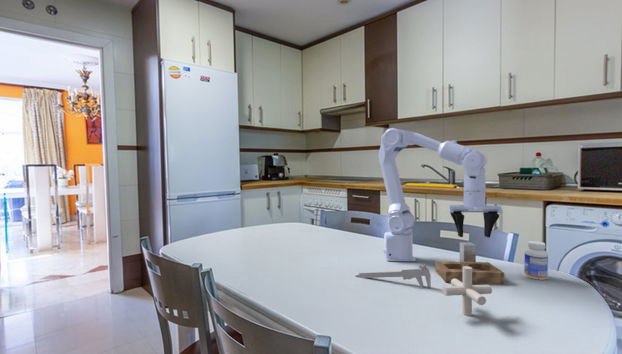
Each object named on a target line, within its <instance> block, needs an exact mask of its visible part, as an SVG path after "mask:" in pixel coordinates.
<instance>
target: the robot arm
mask: <svg viewBox="0 0 622 354" xmlns="http://www.w3.org/2000/svg"><path fill="white" fill-rule="evenodd" d="M380 140H381V141H380V146H379V147H380V148H379V152H378V161H379V165H380V166H379V167H380V170H381V173H382V179H383V183H384V187H385V190H386V191H385V192H386V195H387V199H388V204H389V208H388V211H387V215H388V218H387V226H388V229H389V231H386V232H384V234H383V256H384V258H385V259H386V261H387V262H417V260H416V258H415V257H414V256H413V235H414V234H413V229H412V228H413V227H414V225H415V223H416V220H415V216H414V215H413V214H412V212H411V210H410V207H409V206H408V204H407V203H406V199H405V196H404V192H403V187H402V182H401V179H400V175H399V171H398V167H397V161H396V158H397V156H398V155H399V153H401V151H403V150H404V149H405V148H407V147H408V146H413V145H417V146H419V147H423V148H425V149H428V150H431V151H433V152H437V153H438V155H439V157H440V158H441V159H444V160H445V161H447V162H448V161H449V162H451V163H453V164H456V165H459V166H463V168H464V172H463V173H464V175H463V204H455V205H454V204H453V205H452V204H451V205H450V204H448V205H447V212H448V213H450V216H451V218H452V220H453V222H454V225H455V228H456V232H457V236H458V237H459V238H463V237H464V222H465V221H464V220H465V214H463V213H482V215H483V220H484V221H483V222H484V223H483V224H484V227H483V229H484V231H483V233H484V237H485V238H491V234H492V230H493V228H494V226H495V224H496V223H497V221H498V219H499V217H500V214H502V206H500V205H490V204H489V205H486V181H487V180H486V178H487V177H486V167H485V166H486V165H487V162H488V158H487V156H486V154H485V153H483V152H482V151H480V150H473V146H468V147H467V146H464V145H462V144H459V143H458V141H456V140H452V139H451V141H450V140H446V141H444V142H440V141H438V140H435V139H433V138H431V137H428V136H425V135H423V134H420V133H418V132H415V131H410V130H404V129H398V128H394V127H391V128H388V129H386V130H385V132H384V133H383V134H382V136H381V137H380Z"/></svg>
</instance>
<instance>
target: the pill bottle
mask: <svg viewBox="0 0 622 354" xmlns="http://www.w3.org/2000/svg"><path fill="white" fill-rule="evenodd" d="M527 247H528V248H526V249H524V263H523V264H524V265H523V267H524V268H523V270H524V273H523V274H524V276H525V277H527V278H530V279H532V278H533V280H538V279H539V280H541V281H543V280H544V281H546V280H547V279H548V276H549V275H548V274H549V273H548V271H549V253H548V251H546V243H545V242H542V241H536V240H529V241H528V242H527ZM539 280H538V281H539Z"/></svg>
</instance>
